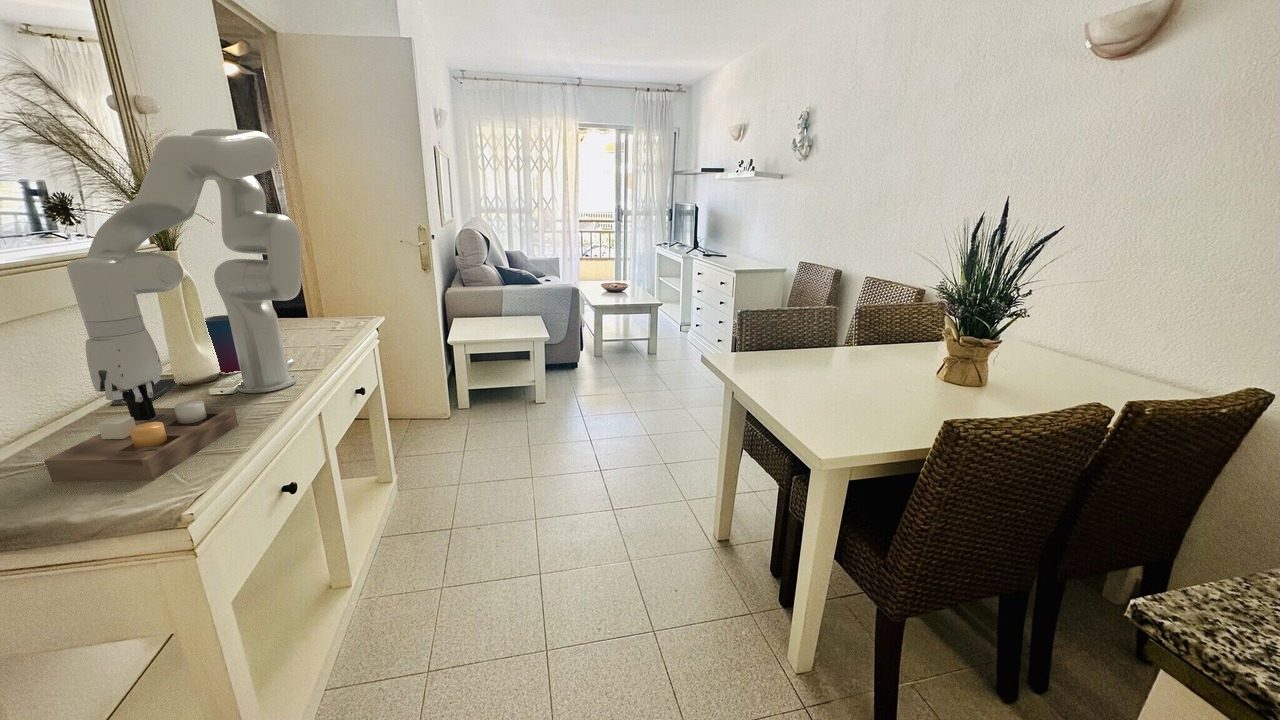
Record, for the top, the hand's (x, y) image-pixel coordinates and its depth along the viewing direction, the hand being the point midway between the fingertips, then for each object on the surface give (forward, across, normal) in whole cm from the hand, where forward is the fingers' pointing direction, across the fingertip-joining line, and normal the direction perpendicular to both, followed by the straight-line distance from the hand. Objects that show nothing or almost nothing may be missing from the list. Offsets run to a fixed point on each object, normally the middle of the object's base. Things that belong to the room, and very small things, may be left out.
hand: (144, 418), depth 99 cm
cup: (+6, -42, -12) cm, 43 cm away
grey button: (+1, -2, +8) cm, 8 cm away
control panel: (+5, +4, +4) cm, 7 cm away
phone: (+6, -26, -20) cm, 34 cm away
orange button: (+1, +8, +7) cm, 11 cm away
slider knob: (+1, +6, 0) cm, 6 cm away
